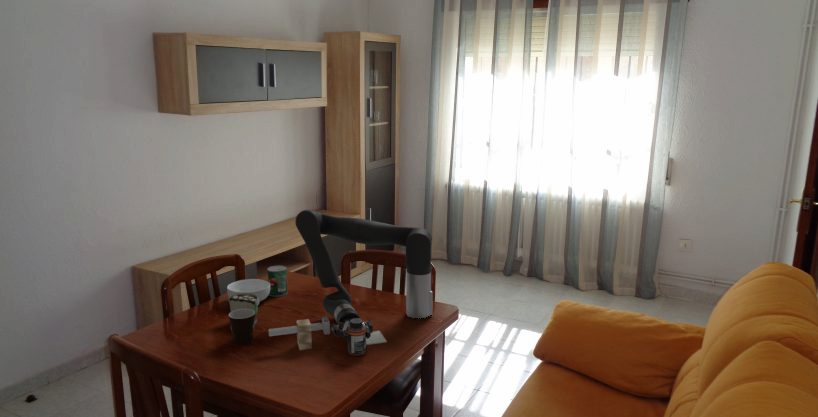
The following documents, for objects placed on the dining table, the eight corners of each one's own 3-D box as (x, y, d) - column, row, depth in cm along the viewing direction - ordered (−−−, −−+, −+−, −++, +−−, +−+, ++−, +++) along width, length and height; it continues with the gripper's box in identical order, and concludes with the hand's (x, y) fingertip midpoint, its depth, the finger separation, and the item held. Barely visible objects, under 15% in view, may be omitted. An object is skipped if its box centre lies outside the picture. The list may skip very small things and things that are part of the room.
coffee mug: (249, 347, 199) (247, 319, 197) (225, 345, 201) (223, 317, 199) (264, 333, 210) (263, 306, 208) (241, 331, 212) (240, 304, 210)
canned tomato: (264, 295, 247) (263, 269, 245) (275, 289, 254) (274, 264, 252) (280, 297, 244) (279, 272, 242) (291, 291, 251) (290, 266, 249)
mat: (379, 331, 212) (379, 330, 212) (386, 342, 204) (386, 341, 204) (354, 335, 209) (354, 334, 209) (361, 345, 201) (360, 344, 201)
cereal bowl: (279, 299, 242) (279, 283, 241) (248, 312, 229) (247, 295, 227) (250, 291, 251) (249, 275, 250) (218, 303, 238) (217, 287, 236)
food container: (267, 320, 222) (265, 294, 220) (257, 326, 216) (256, 300, 214) (238, 315, 226) (237, 290, 224) (228, 321, 220) (227, 296, 218)
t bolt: (327, 328, 204) (327, 316, 203) (330, 333, 200) (329, 321, 199) (268, 336, 198) (267, 323, 197) (269, 341, 194) (269, 329, 193)
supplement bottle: (348, 348, 198) (347, 317, 196) (366, 348, 199) (365, 316, 197) (347, 357, 193) (347, 324, 190) (366, 356, 193) (365, 323, 191)
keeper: (309, 342, 203) (308, 318, 201) (311, 348, 198) (310, 324, 197) (297, 344, 202) (296, 320, 200) (299, 350, 197) (298, 326, 195)
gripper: (326, 310, 205) (336, 329, 189) (366, 305, 209) (380, 323, 194) (326, 330, 206) (336, 351, 191) (366, 325, 211) (380, 344, 195)
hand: (358, 337), depth 192 cm, fingers closed on supplement bottle, 6 cm apart
